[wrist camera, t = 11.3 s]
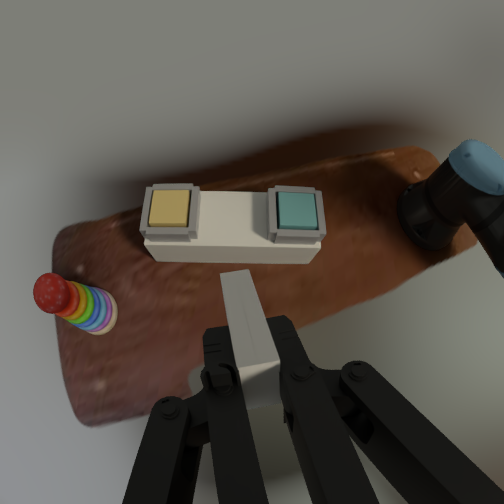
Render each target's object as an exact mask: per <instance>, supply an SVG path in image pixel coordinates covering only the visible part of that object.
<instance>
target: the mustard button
mask: <svg viewBox="0 0 504 504" xmlns="http://www.w3.org/2000/svg"><path fill="white" fill-rule="evenodd" d="M190 205H191V198H190V193H189V190H154V192H153V198H152V204H151V211H150V218H149V224H150V226H151V227H189V216H190Z"/></svg>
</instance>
